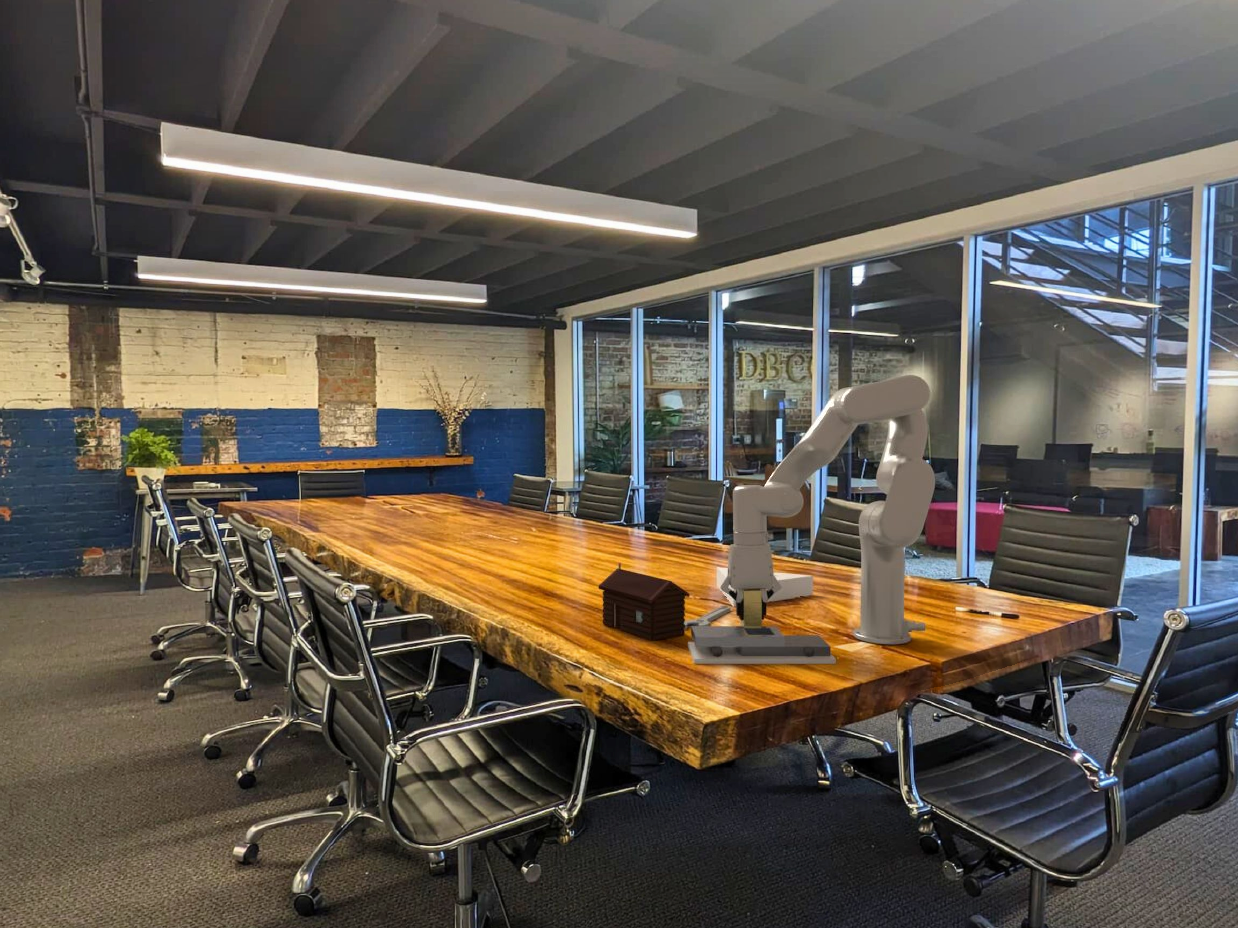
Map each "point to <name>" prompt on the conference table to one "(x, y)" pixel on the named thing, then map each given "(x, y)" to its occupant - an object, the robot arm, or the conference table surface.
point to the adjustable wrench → (707, 617)
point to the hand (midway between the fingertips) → (751, 617)
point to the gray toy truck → (758, 641)
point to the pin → (752, 607)
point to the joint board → (750, 657)
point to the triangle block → (789, 582)
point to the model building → (643, 605)
